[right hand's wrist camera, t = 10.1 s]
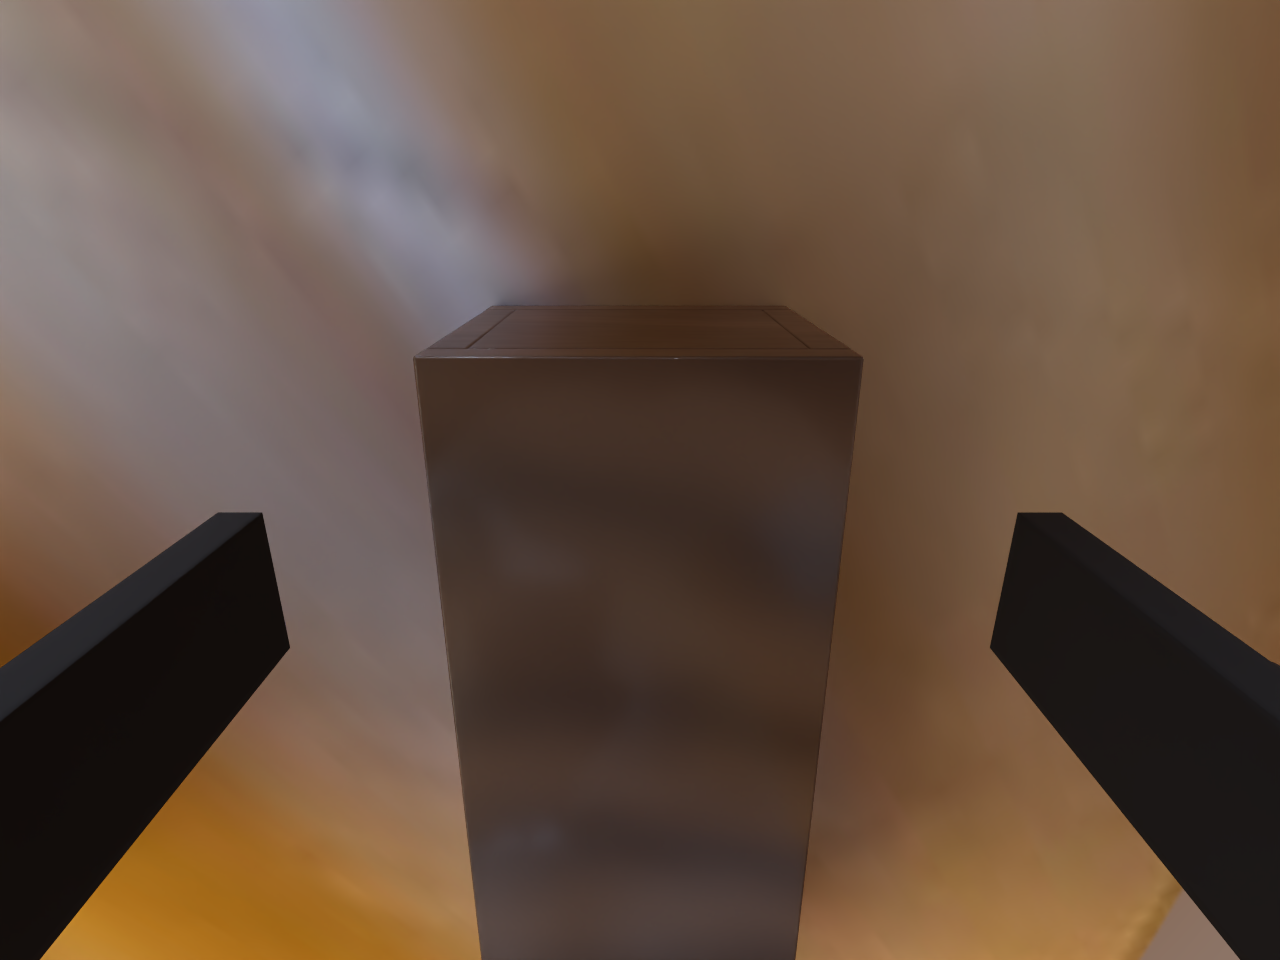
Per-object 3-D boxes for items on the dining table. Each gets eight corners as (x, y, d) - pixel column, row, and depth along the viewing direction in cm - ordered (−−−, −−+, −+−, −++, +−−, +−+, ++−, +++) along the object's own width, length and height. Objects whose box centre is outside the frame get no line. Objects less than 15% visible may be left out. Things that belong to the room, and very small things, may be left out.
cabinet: (753, 768, 32) (794, 972, 23) (524, 767, 32) (482, 972, 23) (786, 305, 24) (864, 356, 16) (491, 305, 24) (412, 356, 16)
